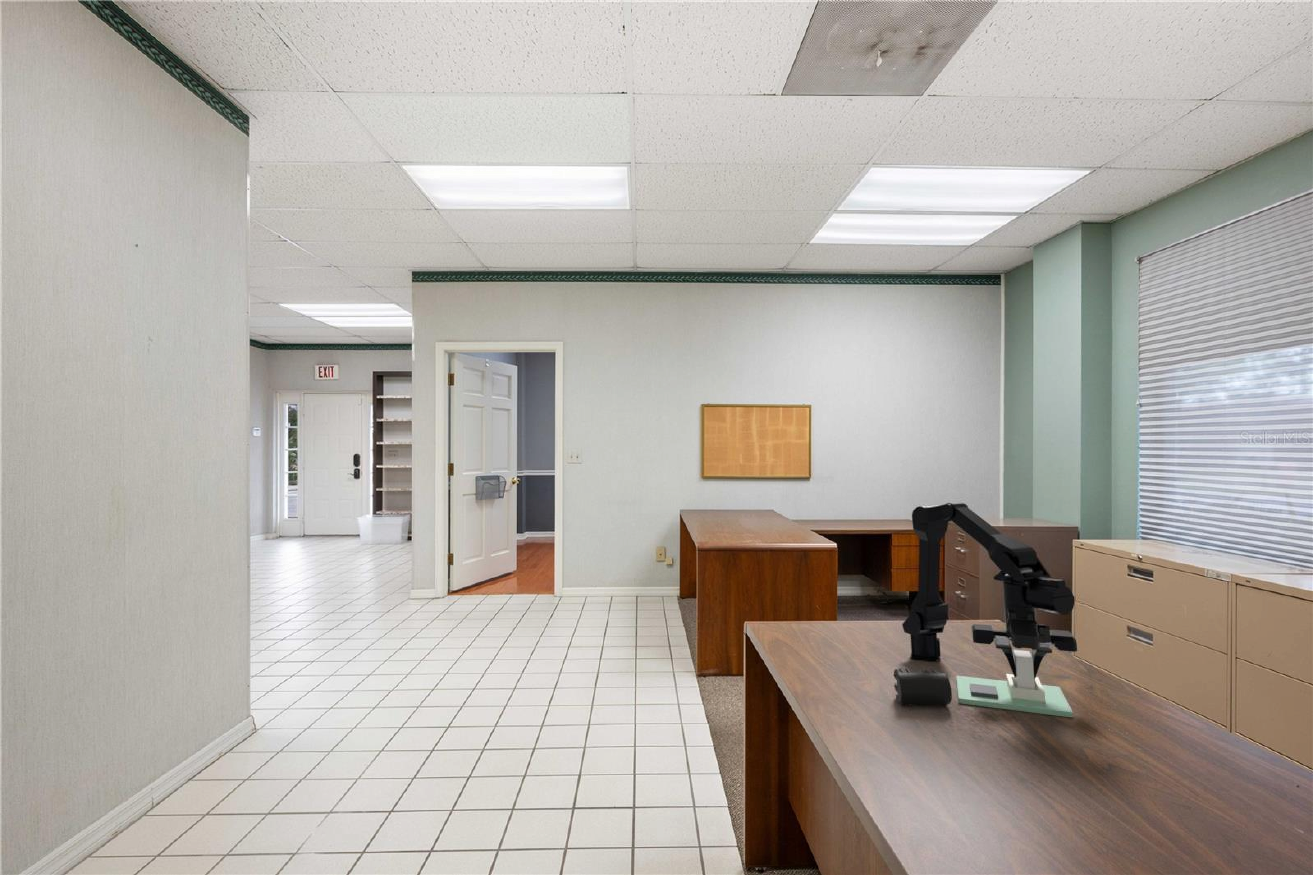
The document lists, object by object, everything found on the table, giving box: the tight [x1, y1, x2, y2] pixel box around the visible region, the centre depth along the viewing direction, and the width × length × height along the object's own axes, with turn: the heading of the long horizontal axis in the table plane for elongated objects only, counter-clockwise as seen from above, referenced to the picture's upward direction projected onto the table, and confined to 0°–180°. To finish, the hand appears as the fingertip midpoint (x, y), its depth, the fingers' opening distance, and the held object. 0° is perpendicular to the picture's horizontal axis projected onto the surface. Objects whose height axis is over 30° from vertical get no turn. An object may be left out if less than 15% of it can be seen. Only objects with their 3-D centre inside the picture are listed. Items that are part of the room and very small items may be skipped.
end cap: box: [893, 668, 953, 707], centre depth 123 cm, size 10×7×7 cm
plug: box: [1012, 649, 1035, 689], centre depth 125 cm, size 3×6×7 cm, turn 154°
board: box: [956, 673, 1074, 718], centre depth 124 cm, size 20×14×3 cm
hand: (1024, 677), depth 124 cm, fingers closed on plug, 3 cm apart
